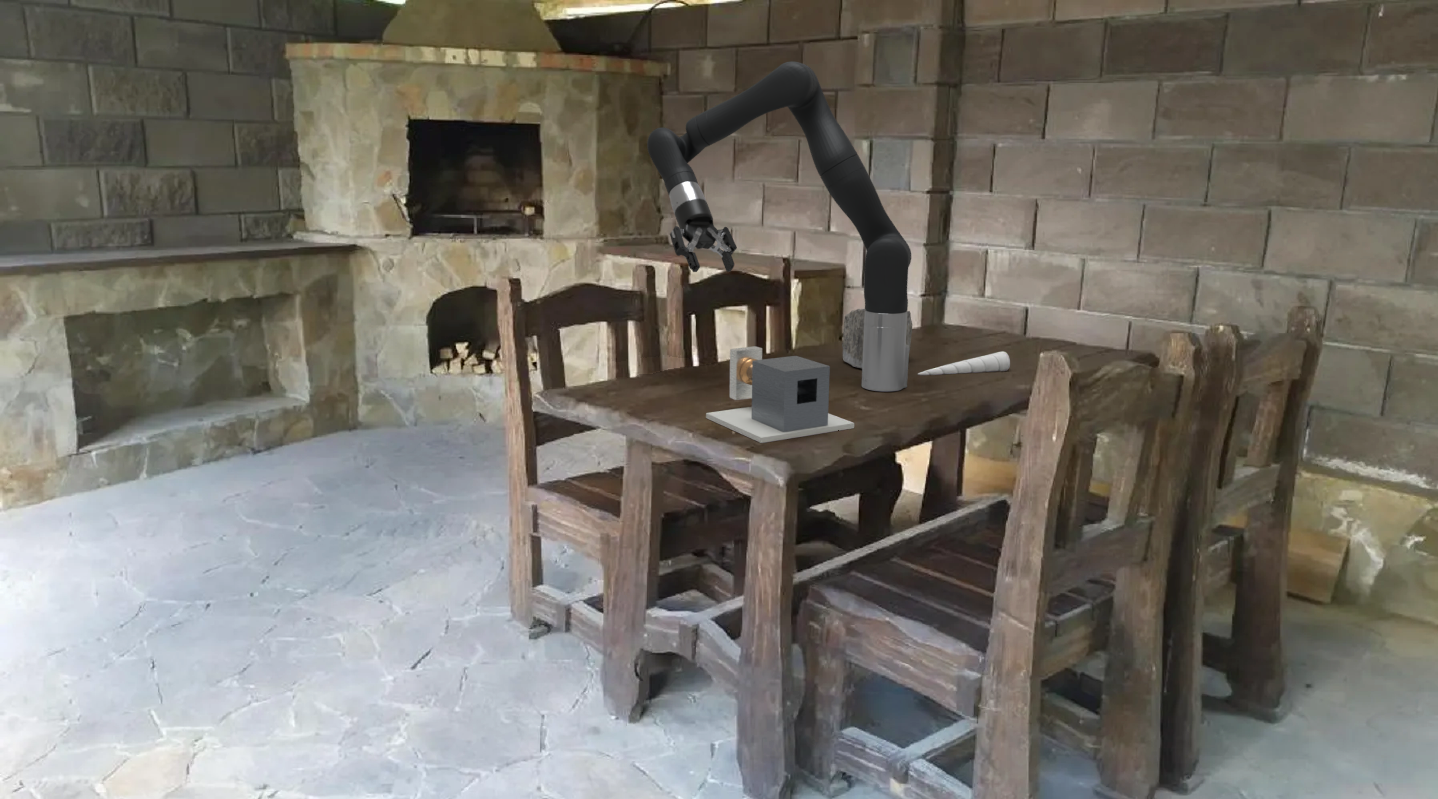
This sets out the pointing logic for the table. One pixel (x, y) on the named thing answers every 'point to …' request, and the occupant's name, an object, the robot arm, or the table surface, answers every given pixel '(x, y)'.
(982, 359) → the unicorn horn
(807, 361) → the block
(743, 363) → the shaft
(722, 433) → the table surface
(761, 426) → the base plate
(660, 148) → the robot arm
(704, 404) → the table surface
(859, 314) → the petrified wood
